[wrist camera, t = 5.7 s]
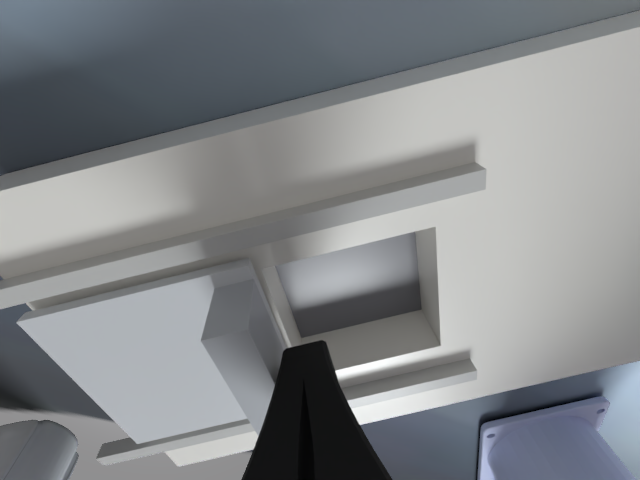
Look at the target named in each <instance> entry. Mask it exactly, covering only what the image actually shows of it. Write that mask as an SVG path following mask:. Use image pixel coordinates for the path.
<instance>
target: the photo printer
mask: <svg viewBox="0 0 640 480" xmlns="http://www.w3.org/2000/svg"><path fill="white" fill-rule="evenodd" d="M77 446H78V442H77V439H76V437H75V435H74V434H73V433H72V432H71V431H70V430H68V429H67V428H65V427H64V426H62V425H60V424H58V423H55V422H53V421H49V420H43V421H37V420H30V421H22V422H16V423H12V424H7V425H3V426H0V480H69V479H70V477H71V475H72V472H73V470H74V468H75V465H76V463H77V460H78V457H79V455H78V453H77V452H76V449H77Z"/></svg>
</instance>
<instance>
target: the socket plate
mask: <svg viewBox="0 0 640 480" xmlns="http://www.w3.org/2000/svg"><path fill="white" fill-rule="evenodd" d="M246 258H250V260H251V263H252V265H253V268H254V270H255V273H256V275H257V277H258V280H259V282H260V285H261V287H262V290H263V292H264V295H265V297H266V299H267V302H268V304H269V307H270V309H271V312H272V314H273V316H274V319H275V321H276V324H277V326H278V329H279V331H280V334H281V336H282V338H283V341H284V343H285V346H286V348H290V347H294V346H298V345H303V344H307V343H311V342H315V341H319V340H323V341H326V343H327V346H328V349H329V353H330V356H331V359H332V362H333V365H334V369H335V372H336V375H337V378H338V382H339V385H340V387H341V389H342V391H343V393H344V395H345V397H346V399H347V402H348V404H349V406H350V408H351V410H352V412H353V414H354V415H355V417H356V419H357V421H358V423H359V425H362V424H366V423H370V422H375V421H379V420H383V419H388V418H392V417H397V416H401V415H405V414H410V413H414V412H418V411H423V410H427V409H431V408H436V407H440V406H444V405H449V404H453V403H457V402H462V401H466V400H470V399H475V398H479V397H484V396H488V395H492V394H497V393H501V392H505V391H510V390H514V389H518V388H523V387H527V386H531V385H536V384H540V383H544V382H549V381H553V380H558V379H562V378H566V377H571V376H575V375H579V374H584V373H588V372H592V371H597V370H601V369H605V368H610V367H614V366H618V365H623V364H627V363H631V362H636V361H640V10H639V11H635V12H631V13H627V14H624V15H620V16H616V17H612V18H608V19H604V20H600V21H596V22H593V23H589V24H585V25H581V26H577V27H573V28H569V29H565V30H561V31H558V32H554V33H550V34H546V35H542V36H538V37H534V38H530V39H527V40H523V41H519V42H515V43H511V44H507V45H503V46H499V47H496V48H492V49H488V50H484V51H480V52H476V53H472V54H468V55H465V56H461V57H457V58H453V59H449V60H445V61H441V62H437V63H434V64H430V65H426V66H422V67H418V68H414V69H410V70H406V71H402V72H399V73H395V74H391V75H387V76H383V77H379V78H375V79H371V80H368V81H364V82H360V83H356V84H352V85H348V86H344V87H340V88H337V89H333V90H329V91H325V92H321V93H317V94H313V95H309V96H306V97H302V98H298V99H294V100H290V101H286V102H282V103H278V104H274V105H271V106H267V107H263V108H259V109H255V110H251V111H247V112H243V113H240V114H236V115H232V116H228V117H224V118H220V119H216V120H212V121H209V122H205V123H201V124H197V125H193V126H189V127H185V128H181V129H178V130H174V131H170V132H166V133H162V134H158V135H154V136H150V137H146V138H143V139H139V140H135V141H131V142H127V143H123V144H119V145H115V146H112V147H108V148H104V149H100V150H96V151H92V152H88V153H84V154H81V155H77V156H73V157H69V158H65V159H61V160H57V161H53V162H50V163H46V164H42V165H38V166H34V167H30V168H26V169H22V170H18V171H15V172H11V173H7V174H4V175H2V176H0V276H1V277H2V278H3V280H0V309H3V308H7V307H11V306H15V305H19V304H23V303H26V304H27V305H28V306H29V307H30V308H31V309H32V310H33V311H34V310H38V309H42V308H47V307H51V306H55V305H59V304H63V303H67V302H71V301H75V300H79V299H83V298H87V297H91V296H95V295H99V294H103V293H108V292H112V291H116V290H120V289H124V288H128V287H132V286H136V285H140V284H144V283H148V282H152V281H156V280H160V279H165V278H169V277H173V276H177V275H181V274H185V273H189V272H193V271H197V270H201V269H205V268H209V267H213V266H217V265H222V264H226V263H230V262H234V261H238V260H242V259H246ZM257 439H258V435H257V433H256V432H255V430H254V428H253V427H252V425H251V423H250V422H249V420H248V419H243V420H239V421H235V422H230V423H226V424H222V425H217V426H213V427H209V428H204V429H200V430H196V431H192V432H187V433H183V434H179V435H174V436H170V437H166V438H161V439H157V440H153V441H149V442H144V443H140V444H137V443H136V442H135V441H134V440H133V439H132V438H131V437H130V438H126V439H122V440H117V441H113V442H109V443H104V444H102V446H101V449H100V451H99V453H98V456H97V458H96V459H97V460H98V461H99V462H100V463H101V464H102V465H104V466H106V465H110V464H114V463H119V462H123V461H127V460H132V459H136V458H140V457H144V456H149V455H152V454H157V453H161V452H165V453H166V454H167V455H168V456H169V457H170V458H171V459H172V461H174V463H175V464H176V465H177V466H183V465H187V464H192V463H196V462H200V461H205V460H209V459H214V458H218V457H222V456H227V455H231V454H236V453H240V452H244V451H249V450H253V449H254V447H255V444H256V442H257Z"/></svg>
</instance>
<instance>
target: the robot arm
mask: <svg viewBox="0 0 640 480" xmlns="http://www.w3.org/2000/svg"><path fill="white" fill-rule="evenodd" d="M609 405H610V402H609V401H608V400H607V399H606V398H605V397H602V396H600V397H595V398H590V399H586V400H582V401H577V402H573V403H568V404H564V405H560V406H555V407H551V408H547V409H542V410H538V411H533V412H529V413H525V414H520V415H516V416H511V417H507V418H503V419H498V420H494V421H489V422H486V423H484V424H483V425H482V426H481V431H480V447H479V462H478V478H477V480H636V478H635V477H634V476H633V475H632V473H631V472H630V471H629V470H628V469H627V467H626V466H625V465H624V464H623V462H622V461H621V460H620V459H619V457H618V456H617V455H616V454H615V453H614V451H613V450H612V449H611V448H610V446H609V445H608V444H607V443H606V441H605V440H604V439H603V438H602V437H601V435H600V434H599V433H598V432H599V429H600V427H601V425H602V422H603V420H604V417H605V415H606V413H607V410H608V408H609ZM242 480H392V478H391V477H390V475H389V473H388V472H387V470H386V469H385V467H384V465H383V464H382V462H381V461H380V459H379V457H378V456H377V454H376V453H375V451H374V449H373V448H372V446H371V444H370V442H369V441H368V439H367V437H366V436H365V434H364V432H363V430H362V428H361V426H360V425H359V423H358V421H357V419H356V417H355V415H354V414H353V412H352V410H351V408H350V406H349V404H348V402H347V399H346V397H345V395H344V393H343V391H342V389H341V387H340V385H339V382H338V378H337V375H336V372H335V369H334V365H333V362H332V359H331V356H330V353H329V349H328V346H327V343H326V341H323V340H319V341H315V342H311V343H307V344H303V345H298V346H294V347H290V348H286V349H285V350H284V351H283V354H282V359H281V364H280V368H279V372H278V376H277V380H276V383H275V387H274V391H273V394H272V397H271V400H270V404H269V407H268V410H267V413H266V416H265V419H264V422H263V425H262V428H261V431H260V434H259V436H258V439H257V442H256V444H255V447H254V450H253V452H252V455H251V458H250V460H249V463H248V465H247V468H246V470H245V473H244V475H243V477H242Z"/></svg>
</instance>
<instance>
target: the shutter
mask: <svg viewBox="0 0 640 480" xmlns="http://www.w3.org/2000/svg"><path fill="white" fill-rule="evenodd" d="M16 323H17V324H18V325H19V326H20V327H21V328H22V329H23V330H24V331H25V332H26V333H27V334H28V335H29V336H30V337H31V338H32V339H33V340H34V341H35V342H36V343H37V344H38V345H39V346H40V347H41V348H42V349H43V350H44V351H45V352H46V353H47V354H48V355H49V356H50V357H51V358H52V359H53V360H54V361H55V362H56V363H57V364H58V365H59V366H60V367H61V368H62V369H63V370H64V371H65V372H66V373H67V374H68V375H69V376H70V377H71V378H72V379H73V380H74V381H75V382H76V383H77V384H78V385H79V386H80V387H81V388H82V389H83V390H84V391H85V392H86V393H87V394H88V395H89V396H90V397H91V398H92V399H93V400H94V401H95V402H96V403H97V404H98V405H99V406H100V407H101V408H102V409H103V410H104V411H105V412H106V413H107V414H108V415H109V416H110V417H111V418H112V419H113V420H114V421H115V422H116V423H117V424H118V425H119V426H120V427H121V428H122V429H123V430H124V431H125V432H126V433H127V434H128V435H129V436H130V437H131V438H132V439H133V440H134V441H135V442H136V443H137V444H140V443H144V442H149V441H153V440H157V439H161V438H166V437H170V436H174V435H179V434H183V433H187V432H192V431H196V430H200V429H204V428H209V427H213V426H217V425H222V424H226V423H230V422H235V421H239V420H243V419H248V420H249V422H250V423H251V425H252V427H253V428H254V430H255V432H256V433H257V435H258V436H259V434H260V431H261V428H262V425H263V422H264V419H265V416H266V413H267V410H268V407H269V404H270V400H271V397H272V394H273V391H274V387H275V383H276V380H277V376H278V372H279V368H280V364H281V359H282V354H283V351H284V350H285V349H286V346H285V343H284V341H283V338H282V336H281V334H280V331H279V329H278V326H277V324H276V321H275V319H274V316H273V314H272V312H271V309H270V307H269V304H268V302H267V299H266V297H265V295H264V292H263V290H262V287H261V285H260V282H259V280H258V277H257V275H256V273H255V270H254V268H253V265H252V263H251V260H250V258H246V259H242V260H238V261H234V262H230V263H226V264H222V265H217V266H213V267H209V268H205V269H201V270H197V271H193V272H189V273H185V274H181V275H177V276H173V277H169V278H165V279H160V280H156V281H152V282H148V283H144V284H140V285H136V286H132V287H128V288H124V289H120V290H116V291H112V292H108V293H103V294H99V295H95V296H91V297H87V298H83V299H79V300H75V301H71V302H67V303H63V304H59V305H55V306H51V307H47V308H42V309H38V310H34V311H30V312H26V313H24V315H23V316H22V317H21V318H20V319H19V320H18V321H17V322H16Z"/></svg>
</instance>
